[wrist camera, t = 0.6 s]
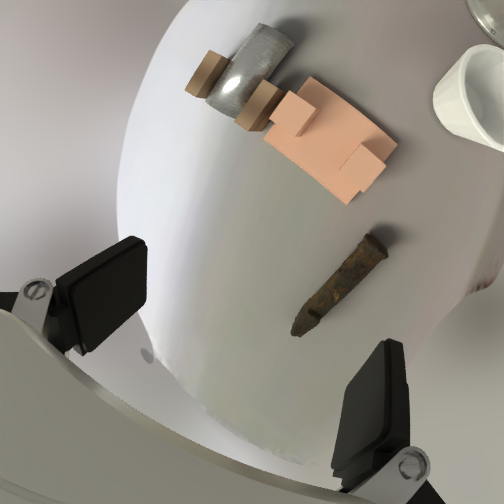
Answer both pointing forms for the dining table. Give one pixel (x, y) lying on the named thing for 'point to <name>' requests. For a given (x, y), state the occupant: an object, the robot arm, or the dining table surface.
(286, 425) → the dining table surface
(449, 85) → the cup
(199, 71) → the channel block
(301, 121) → the cradle
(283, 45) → the axle
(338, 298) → the hand tool
